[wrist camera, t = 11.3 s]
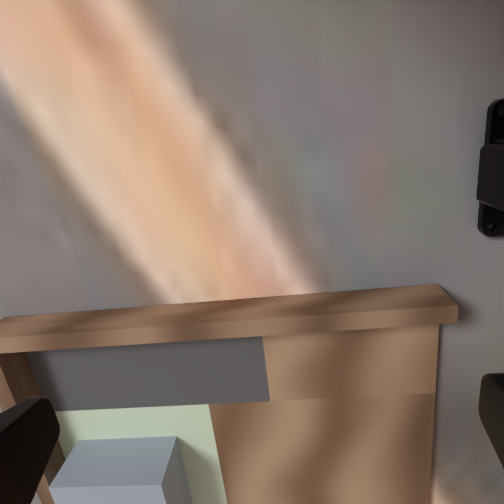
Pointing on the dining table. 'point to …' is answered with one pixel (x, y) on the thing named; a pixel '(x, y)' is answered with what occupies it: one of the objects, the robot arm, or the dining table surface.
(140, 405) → the charcoal strips
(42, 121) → the dining table surface
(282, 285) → the dining table surface
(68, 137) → the dining table surface
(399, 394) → the walnut box
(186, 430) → the sage pad
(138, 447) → the slate block
